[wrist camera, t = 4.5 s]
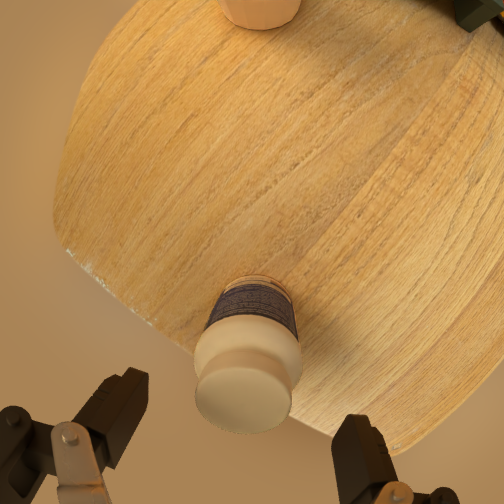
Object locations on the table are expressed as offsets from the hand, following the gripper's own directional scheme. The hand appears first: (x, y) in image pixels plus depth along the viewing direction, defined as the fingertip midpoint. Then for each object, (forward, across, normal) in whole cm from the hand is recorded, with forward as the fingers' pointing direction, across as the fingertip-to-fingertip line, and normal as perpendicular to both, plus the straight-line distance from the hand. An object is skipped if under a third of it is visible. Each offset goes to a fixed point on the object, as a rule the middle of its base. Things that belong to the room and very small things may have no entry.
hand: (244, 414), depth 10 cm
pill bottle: (+11, 0, 0) cm, 11 cm away
